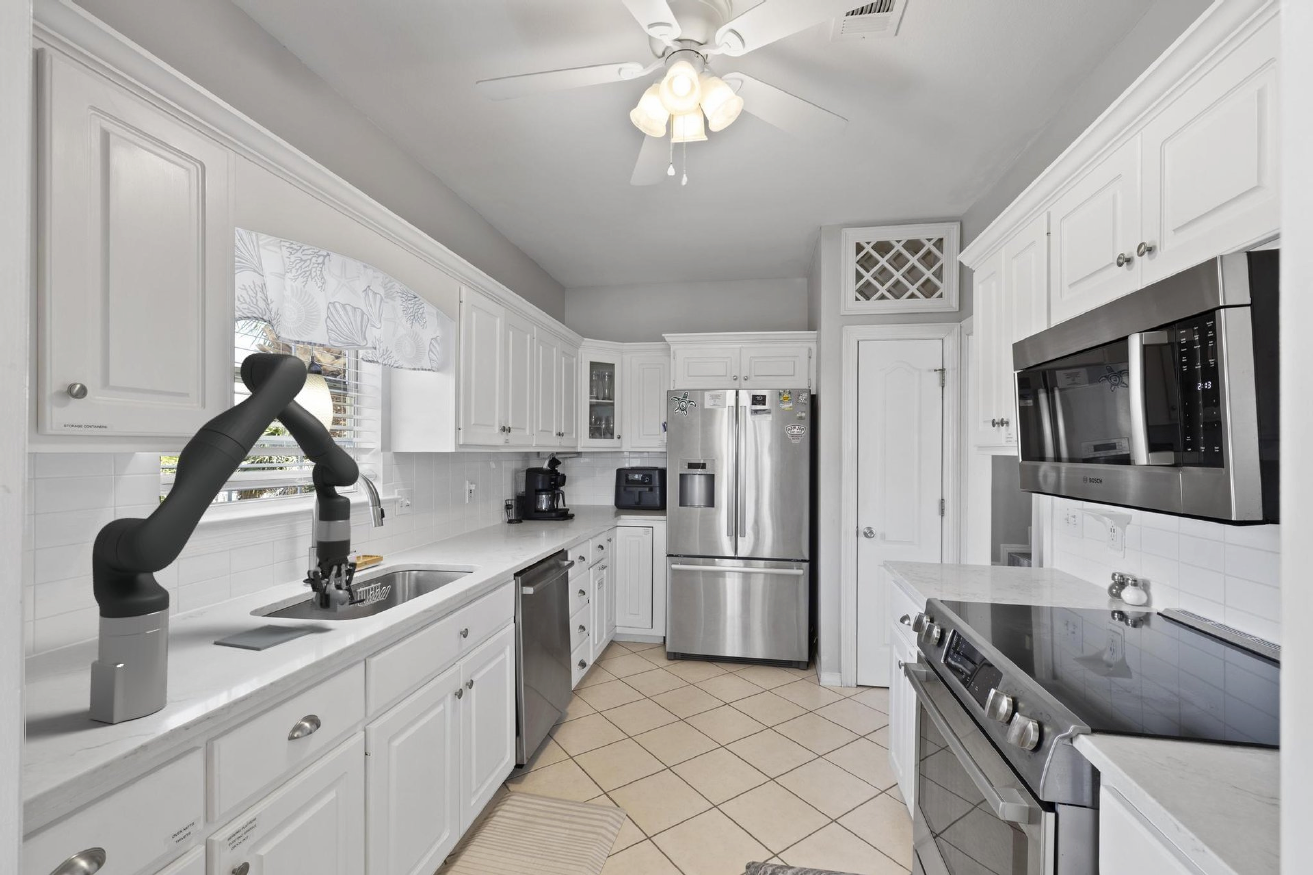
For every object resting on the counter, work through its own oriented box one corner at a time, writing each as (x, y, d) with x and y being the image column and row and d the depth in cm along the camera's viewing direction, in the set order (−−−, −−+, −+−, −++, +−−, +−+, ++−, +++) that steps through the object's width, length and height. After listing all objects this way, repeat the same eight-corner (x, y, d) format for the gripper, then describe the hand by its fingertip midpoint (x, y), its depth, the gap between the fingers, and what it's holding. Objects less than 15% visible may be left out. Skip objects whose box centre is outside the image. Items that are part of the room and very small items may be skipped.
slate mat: (260, 650, 135) (260, 647, 135) (214, 643, 139) (214, 641, 139) (312, 632, 149) (312, 630, 149) (268, 626, 153) (268, 624, 153)
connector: (337, 612, 149) (337, 592, 149) (310, 609, 151) (311, 589, 152) (348, 609, 152) (349, 589, 153) (322, 606, 155) (323, 586, 155)
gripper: (322, 542, 144) (320, 614, 144) (367, 535, 158) (365, 601, 158) (298, 540, 147) (295, 612, 146) (343, 533, 160) (341, 598, 160)
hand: (331, 606), depth 152 cm, fingers closed on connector, 3 cm apart
